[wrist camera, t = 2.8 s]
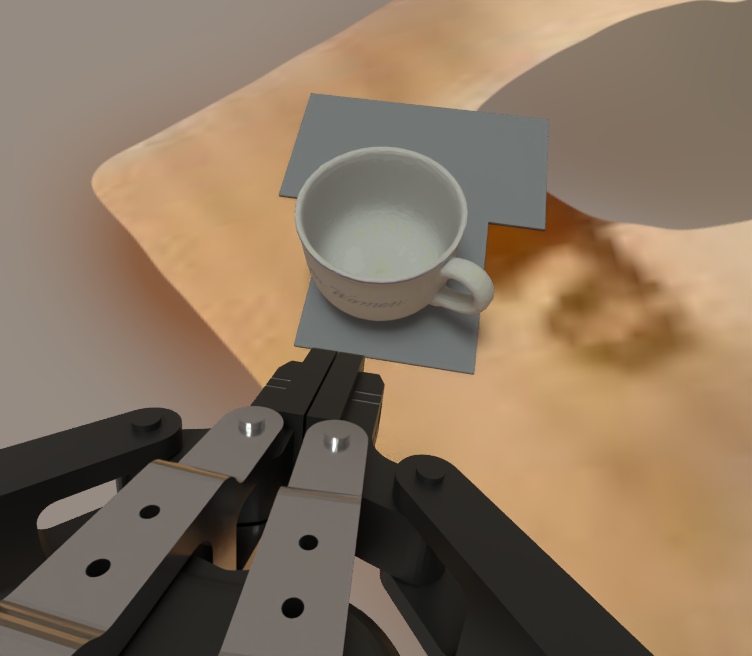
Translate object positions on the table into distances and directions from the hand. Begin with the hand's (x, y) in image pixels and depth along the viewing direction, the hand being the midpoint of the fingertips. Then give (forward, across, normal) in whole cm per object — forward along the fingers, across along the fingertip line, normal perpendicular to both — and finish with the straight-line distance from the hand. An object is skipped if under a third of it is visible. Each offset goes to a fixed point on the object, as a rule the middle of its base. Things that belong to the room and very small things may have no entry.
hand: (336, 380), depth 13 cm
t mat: (+27, 0, -1) cm, 27 cm away
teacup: (+23, 0, +4) cm, 23 cm away
